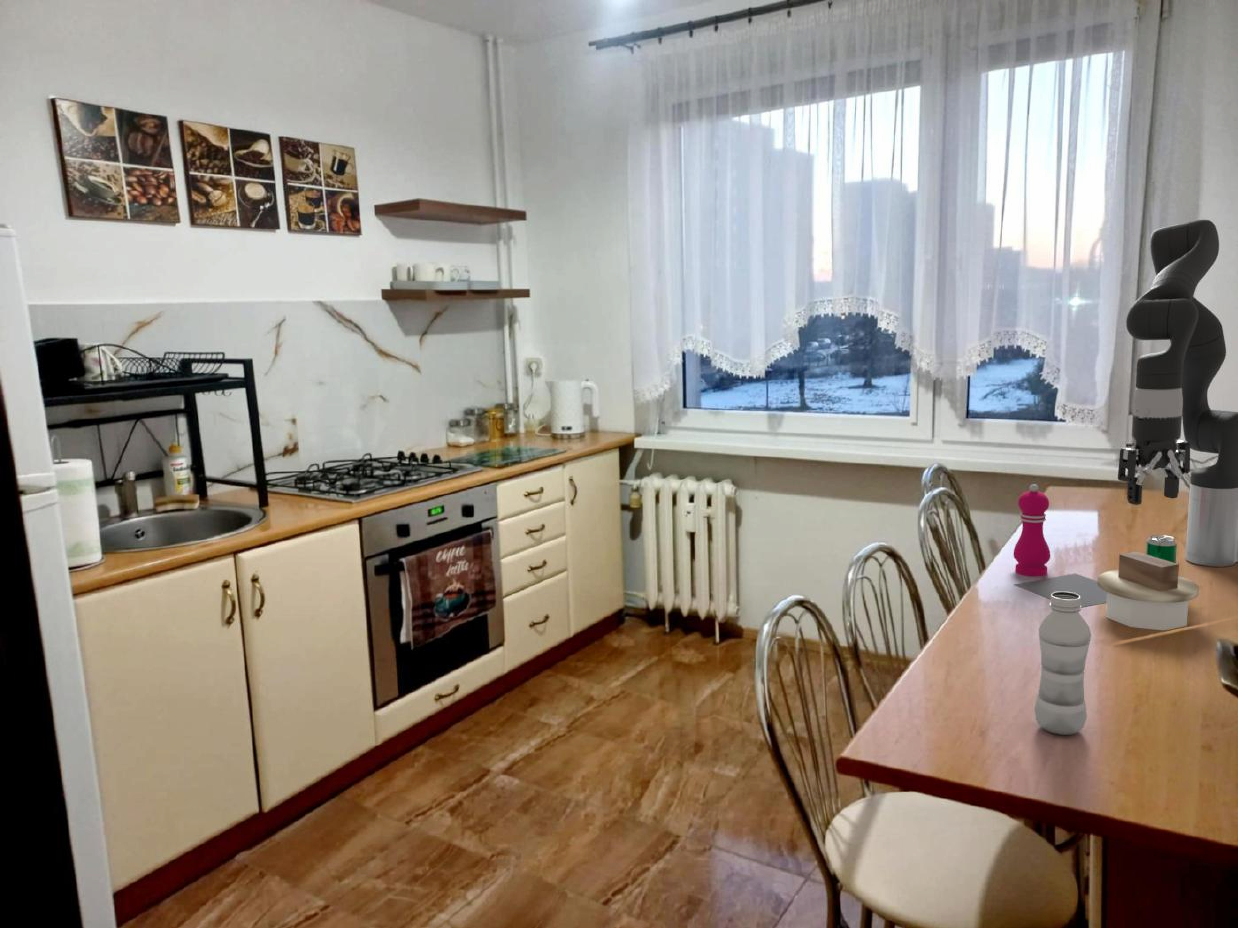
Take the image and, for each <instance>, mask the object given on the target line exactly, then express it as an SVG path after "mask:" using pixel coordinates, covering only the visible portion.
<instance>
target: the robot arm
mask: <svg viewBox="0 0 1238 928" xmlns="http://www.w3.org/2000/svg"><path fill="white" fill-rule="evenodd" d="M1219 239H1220V238H1219V233H1218V230H1217V226H1216V225H1215V224H1214V222H1213V221H1211V220H1209V219H1196V220H1192V221H1186V222H1182V223H1176V224H1172V225H1168V226H1164V227H1160V228H1157V229H1155V230H1153V231H1152V233H1151V235H1150V240H1149V249H1150V256H1151V261H1152V265H1153V268H1154V272H1155V277H1154V279H1153V280H1152V283H1151V284H1150V288H1149V290H1148V291H1146V292H1145V293H1144V294H1142V295H1141V296H1140V297H1139V298H1137V299H1136V301H1135V302H1133V304H1132V305H1131V307H1130V308H1129V310H1128V313H1127V316H1126V322H1125V323H1126V325H1125V326H1126V329H1127V332H1128V334H1129V335H1130V336H1131V337H1132V338H1134V339H1136V340H1139V341H1163V340H1164V341H1167V340H1168V341H1169V342H1170V345H1169V346H1168V348H1166V349H1164V350H1162V351H1158V352H1152V353H1147V354H1143V355H1141V356H1139V357H1138V358H1137V361H1136V374H1135V375H1136V377H1135V389H1134V395H1133V400H1132V401H1133V403H1132V404H1133V405H1132V426H1131V436H1132V438H1133V439H1134V440H1135V445H1134V448H1128V447H1121V448H1120V450H1119V460H1118V461H1119V462H1118V468H1117V469H1118V470H1117V479H1118V481H1121V482H1124V483H1126V484H1127V495H1126V499H1127V502H1128V503H1129V504H1131V505H1134V506H1139V505H1141V504H1142V500H1143V499H1142V498H1143V495H1142V494H1143V484H1142V483H1143V481H1144V480H1145V477H1147V476H1148V475H1150V474H1151V472H1152V471H1156V470H1157V469H1161V470H1162V471H1163V473H1164V475H1165V477H1164V486H1163V496H1164V497H1165V498H1169V499H1177V498H1178V496H1179V492H1180V479H1181V478H1182V477H1183V475H1184V474H1189V473H1190V471H1191V450H1193V451H1196V452H1199V453H1207V454H1217V460H1216V461H1215V464H1212V465H1208V466H1203V467H1202V466H1201V467H1198V468H1195V469H1193V470H1192V471H1191V473H1190V478H1189V479H1190V480H1189V482H1190V483H1189V495H1188V497H1189V498H1188V511H1187V512H1188V513H1187V523H1186V524H1187V525H1186V526H1187V527H1186V528H1187V529H1186V541H1185V555H1184V556H1185V557H1184V559H1185V560H1186V561H1187V562H1189V563H1193V564H1196V565H1201V566H1205V567H1206V566H1207V567H1218V568H1219V567H1225V568H1226V567H1231V566H1234V565H1235V564H1236V562H1238V411H1231V410H1217V409H1211V408H1210V405H1209V399H1208V390H1209V387H1211V386H1210V385H1211V383H1212V382H1213V381H1214V378H1215V377H1216V375H1218V372H1219V371H1220V369H1221V368H1222V365H1223V364H1224V361H1225V360H1226V357H1227V347H1226V341H1225V334H1224V329H1223V325H1222V322H1221V321H1220V319H1219V318H1218V317H1217V315H1215V313H1213V312H1212V311H1211V310H1210V309H1209V308H1207V306H1205V305H1204V304H1203V303H1202V302H1201V301H1199V300H1198V299H1197V298H1196V297H1195V296H1194V295H1195V292H1196V289H1197V286H1198V284H1199V283H1200V282H1201V281H1202V279H1203V278H1204V277H1205V276H1206V274H1207V273H1208V272H1209V271H1210V269H1211V267H1212V266H1213V265H1214V264H1215V262H1216V261H1217V259H1218V257H1219V252H1220V240H1219ZM1182 430H1183V431H1182ZM1182 432H1183V436H1184V440H1180V439H1181V436H1182ZM1181 461H1182V465H1181ZM1126 470H1127V474H1126Z"/></svg>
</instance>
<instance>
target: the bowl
mask: <svg viewBox="0 0 1238 928" xmlns="http://www.w3.org/2000/svg"><path fill="white" fill-rule="evenodd" d="M1188 611H1189V601H1184V602H1176V603H1157V602H1146V601H1138V600H1132V599H1127V598H1123V597H1119V596H1116V595H1113V594H1110V593H1108V592H1107V597H1106V603H1105V614H1106V618H1107V619H1109V620H1111V621H1115V622H1117V623H1120V624H1122V625H1125V626H1127V627H1130V628H1136V629H1138V628H1139V629H1147V630H1157V631H1168V630H1173V629H1178V628H1183V627H1187V626H1188V615H1189V614H1188Z"/></svg>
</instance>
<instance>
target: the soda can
mask: <svg viewBox="0 0 1238 928" xmlns="http://www.w3.org/2000/svg"><path fill="white" fill-rule="evenodd" d="M1175 540H1176V539H1175V537H1173V536H1169V535H1163V534H1155V535H1154V534H1153V535H1149V536H1148V539H1147V540H1146V542H1145V554H1146V555H1150V556H1153V557H1156V558H1160V559H1163V560H1166V561H1170V562H1173V563H1176V562H1177V547H1178V545H1177V542H1176V541H1175ZM1176 564H1177V563H1176Z"/></svg>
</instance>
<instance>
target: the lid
mask: <svg viewBox="0 0 1238 928" xmlns="http://www.w3.org/2000/svg"><path fill="white" fill-rule="evenodd" d="M1179 571H1180V564H1179V563H1173V562H1170V561H1166V560H1163V559H1160V558H1156V557H1153V556H1150V555H1146V553H1143V552H1139V551H1132V552H1131V551H1130V552H1126V553H1120V554H1119V557H1118V569H1113V570H1108V571H1104V572H1103V573H1100V574H1099V575H1098V576H1097V581H1098V586H1099V587H1100V588H1101V589H1102V590H1104V591H1106V592H1108V593H1110V594H1113V595H1116V596H1119V597H1123V598H1127V599H1132V600H1138V601H1146V602H1157V603H1176V602H1184V601H1188V602H1189V601H1193V600H1196V599H1197V598H1198V597H1199V595H1200V587H1199V585H1198V584H1197V583H1196V582H1195V581H1193V580H1191V579H1189V578H1186V577H1183V576H1180V575H1179Z"/></svg>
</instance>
